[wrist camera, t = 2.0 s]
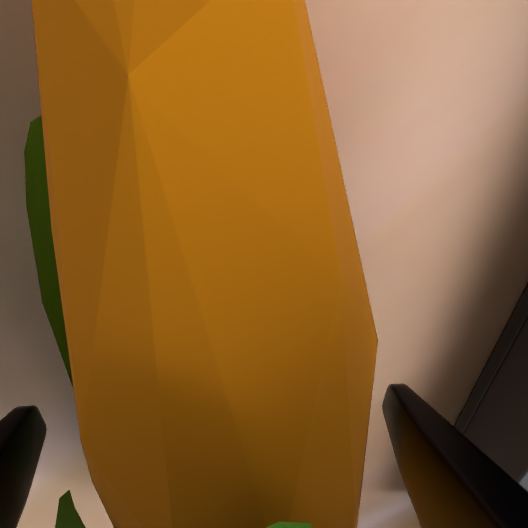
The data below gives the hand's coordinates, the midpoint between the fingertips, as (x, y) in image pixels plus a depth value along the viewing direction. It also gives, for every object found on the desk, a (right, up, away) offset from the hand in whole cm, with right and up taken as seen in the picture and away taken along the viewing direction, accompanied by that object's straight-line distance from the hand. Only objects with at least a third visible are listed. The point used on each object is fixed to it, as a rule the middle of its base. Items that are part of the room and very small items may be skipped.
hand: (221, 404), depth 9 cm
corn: (0, +1, +2) cm, 2 cm away
